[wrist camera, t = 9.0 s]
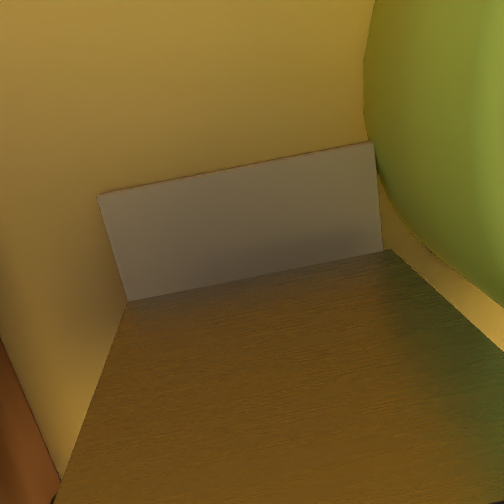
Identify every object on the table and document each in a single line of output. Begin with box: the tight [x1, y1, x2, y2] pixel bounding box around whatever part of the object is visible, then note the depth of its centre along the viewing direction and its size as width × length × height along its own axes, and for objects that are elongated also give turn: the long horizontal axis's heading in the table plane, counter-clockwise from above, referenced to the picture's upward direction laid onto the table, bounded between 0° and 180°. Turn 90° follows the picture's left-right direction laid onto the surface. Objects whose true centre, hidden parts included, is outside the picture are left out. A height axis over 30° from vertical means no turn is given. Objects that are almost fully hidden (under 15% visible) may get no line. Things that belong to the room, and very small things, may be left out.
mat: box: [96, 141, 383, 302], centre depth 16 cm, size 11×8×1 cm
